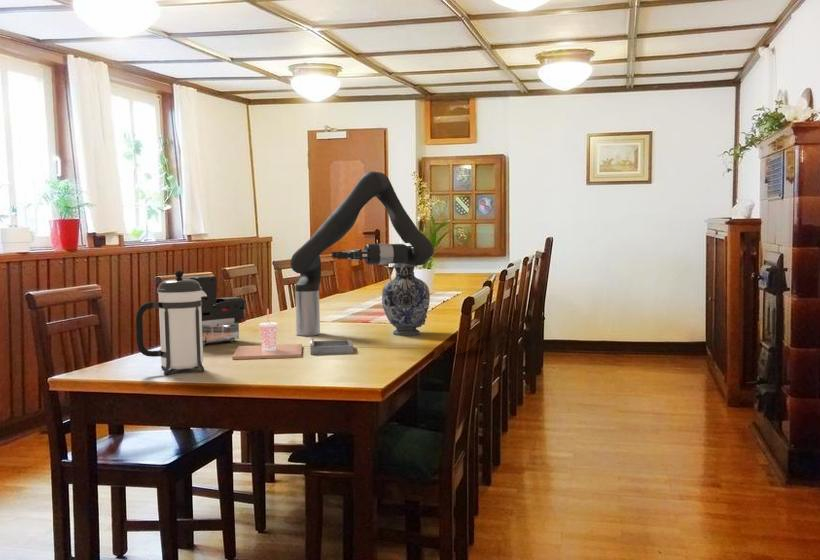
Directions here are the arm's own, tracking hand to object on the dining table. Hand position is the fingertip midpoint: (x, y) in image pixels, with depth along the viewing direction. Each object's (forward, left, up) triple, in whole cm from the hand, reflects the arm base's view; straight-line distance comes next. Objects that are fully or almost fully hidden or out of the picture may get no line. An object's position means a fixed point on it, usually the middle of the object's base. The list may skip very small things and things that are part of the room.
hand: (334, 255), depth 274 cm
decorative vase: (-23, +28, -32) cm, 49 cm away
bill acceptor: (-15, -45, -32) cm, 58 cm away
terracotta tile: (+12, -23, -32) cm, 41 cm away
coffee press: (+40, -48, -32) cm, 70 cm away
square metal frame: (+12, -2, -32) cm, 34 cm away
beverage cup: (+11, -23, -31) cm, 40 cm away
